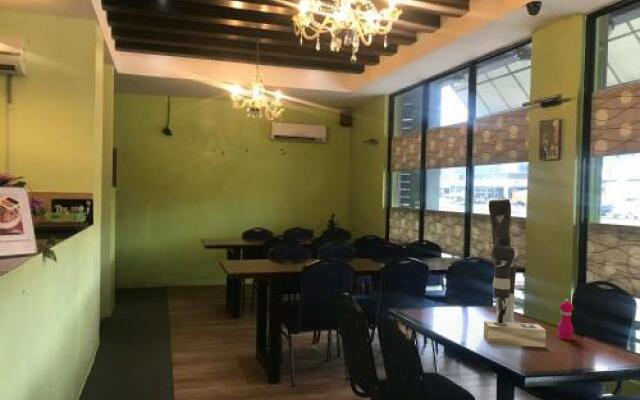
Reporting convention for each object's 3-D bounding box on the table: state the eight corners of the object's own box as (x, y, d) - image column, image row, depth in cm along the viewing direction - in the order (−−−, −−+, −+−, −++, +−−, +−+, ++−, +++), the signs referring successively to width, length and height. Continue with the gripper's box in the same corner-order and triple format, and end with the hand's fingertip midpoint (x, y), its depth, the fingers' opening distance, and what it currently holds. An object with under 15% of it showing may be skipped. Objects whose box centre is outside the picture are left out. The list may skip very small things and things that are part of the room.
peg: (494, 337, 251) (495, 321, 251) (503, 337, 250) (503, 321, 250) (496, 339, 247) (497, 323, 247) (504, 339, 246) (505, 323, 246)
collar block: (483, 336, 255) (484, 320, 255) (537, 340, 252) (538, 324, 252) (488, 343, 243) (489, 326, 243) (545, 347, 240) (545, 330, 240)
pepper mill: (574, 340, 255) (576, 300, 255) (559, 339, 256) (561, 299, 256) (570, 336, 262) (572, 298, 262) (555, 335, 263) (557, 297, 263)
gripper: (491, 284, 256) (489, 318, 256) (496, 288, 242) (495, 325, 242) (506, 285, 255) (505, 320, 255) (513, 289, 242) (511, 326, 241)
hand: (500, 322), depth 249 cm, fingers closed
